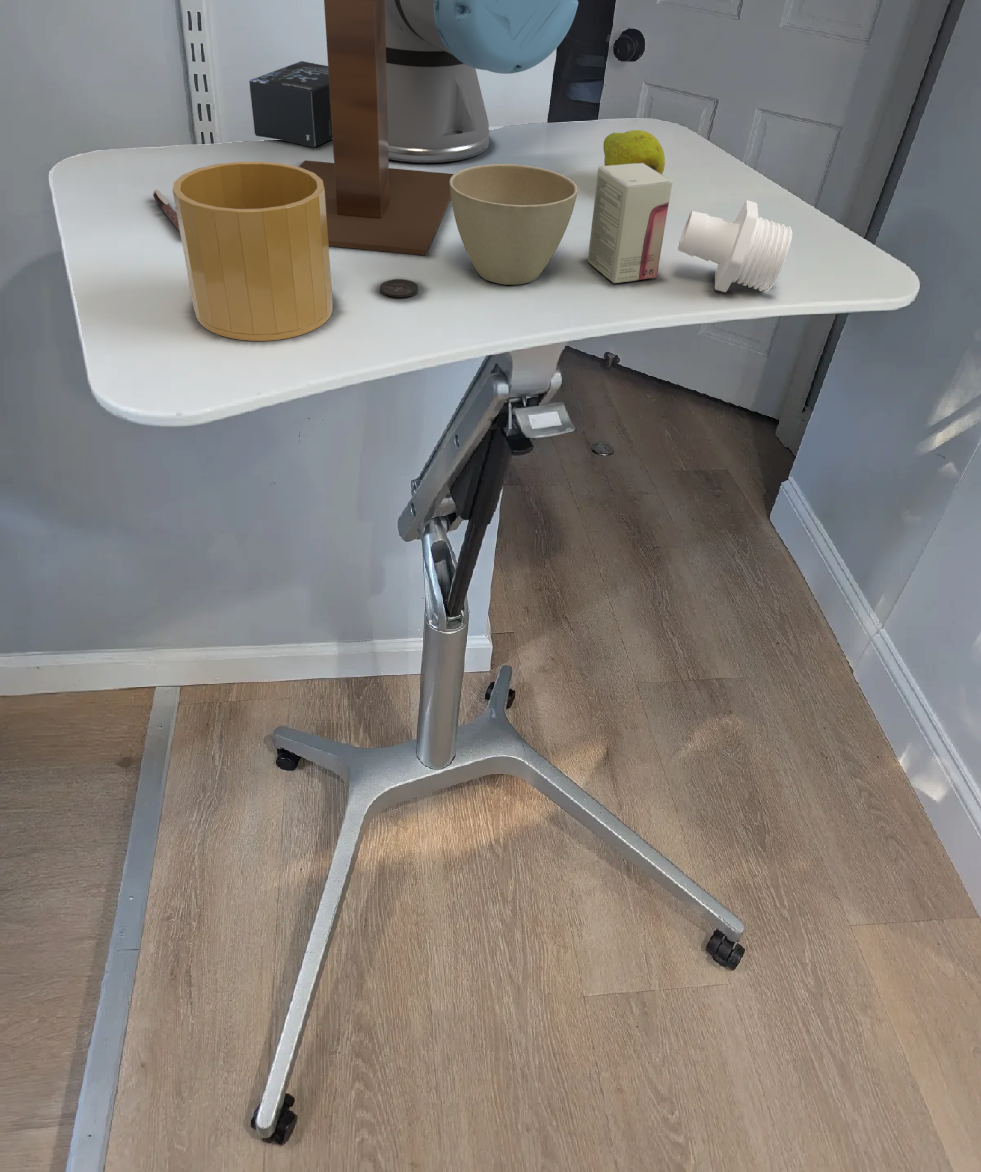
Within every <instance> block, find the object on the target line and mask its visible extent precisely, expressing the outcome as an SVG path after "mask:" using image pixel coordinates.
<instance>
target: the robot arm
mask: <svg viewBox="0 0 981 1172" xmlns="http://www.w3.org/2000/svg"><path fill="white" fill-rule="evenodd" d="M578 7H579V0H385V34H386V75H387V117H388V158H389V160H393V161H398V162H407V163H425V164H426V163H428V164H429V163H430V164H432V163H433V164H434V163H447V162H455V161H456V162H457V161H462V160H467V159H470V158H472V157H477V156H478V155H480V154H482V153H484V152H485V151H486V150H487V149H488V148H489V145H490V127H489V126H490V125H489V124H490V123H489V119H488V115H487V109H486V106H485V102H484V97H483V94H482V89H481V86H480V82H479V78H478V74H477V70H482V71H488V72H490V73H494V74H500V75H501V74H502V75H503V74H504V75H508V74H511V75H512V74H516V73H517V74H518V73H521V72H525V71H527V70H530V69H532V68H534V67H536V66H537V65H539V64H541V63H542V62H543V61H545V60H546V59H547V58H548V57H550V56H551V55H552V54H553V52H554V51H556V50H557V48H558V47H559V46H560V44H562V42H563V40H564V39H565V37H567V34H568V32H569V30H570V29H571V27H572V24H573V22H574V20H575V17H576V14H577V10H578Z"/></svg>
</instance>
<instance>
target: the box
mask: <svg viewBox="0 0 981 1172" xmlns="http://www.w3.org/2000/svg"><path fill="white" fill-rule="evenodd" d="M248 83H249V93H250V103H251V110H252V119H253V131H254V135H255V136H256V137H259V138H260V137H261V138H267V139H272V140H278V141H282V142H283V141H284V142H289V143H294V144H298V145H304V146H307V147H311V148H312V147H313V148H316V147H318V146H321V145H323V144H325V143H328V142H329V141H332V140H333V137H332V120H331V104H330V88H329V72H328V65H325V64H318V63H314V62H309V61H304V60H300V61H298V62H295V63H293V64H290V65H287V66H284V67H281V68H279V69H276V70H274V71H271V72H267V73H265V74H262V75H259V76H257V77H255V78H251V79H249V81H248Z"/></svg>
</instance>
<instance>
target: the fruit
mask: <svg viewBox="0 0 981 1172" xmlns="http://www.w3.org/2000/svg"><path fill="white" fill-rule="evenodd" d="M603 155H604V163H603V165H604V166H611V165H622V164H633V163H644V164H645V165H647V166H649V167H650V168H652V169H654V170H655V171H657V172H658V173H660V174H662V175H663V173H664V170H665V166H666V157H665V151H664V149H663V146H662V144H661V143H660V141H659V140H658V138H656V137H655V136H654V135H653V134H652V133H650V132H649V131H646V130H642V129H641V130H640V129H633V130H629V131H625V132H612V133H610V134H608V135H606V137H605V138H604V140H603Z"/></svg>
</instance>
